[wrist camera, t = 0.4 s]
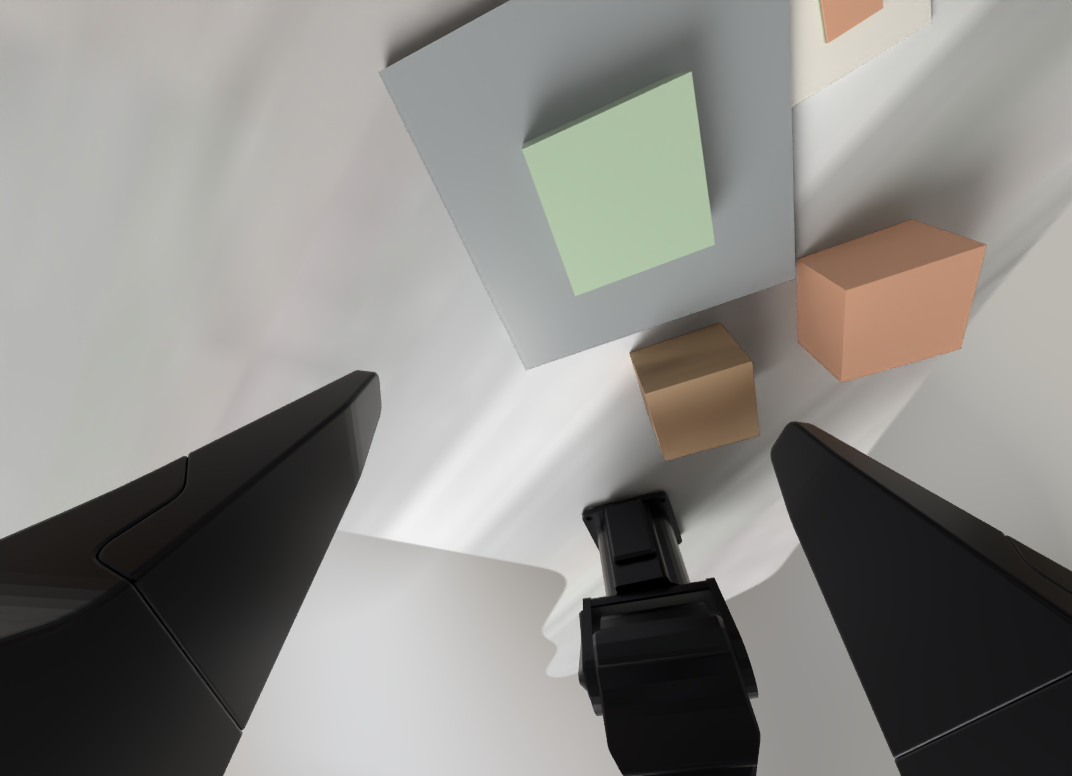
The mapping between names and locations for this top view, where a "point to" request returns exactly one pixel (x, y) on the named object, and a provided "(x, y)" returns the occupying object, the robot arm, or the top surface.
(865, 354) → the brick terracotta
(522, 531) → the top surface
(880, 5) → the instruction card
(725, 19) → the plate
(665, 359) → the brown block
